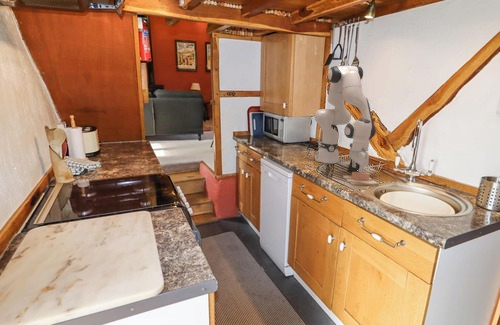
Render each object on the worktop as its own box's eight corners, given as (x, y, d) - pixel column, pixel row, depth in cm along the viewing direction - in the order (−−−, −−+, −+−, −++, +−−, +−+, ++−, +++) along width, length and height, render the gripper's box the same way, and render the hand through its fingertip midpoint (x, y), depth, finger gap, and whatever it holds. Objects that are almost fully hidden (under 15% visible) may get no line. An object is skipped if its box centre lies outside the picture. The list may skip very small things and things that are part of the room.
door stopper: (355, 173, 184) (357, 155, 181) (347, 171, 189) (349, 154, 185) (362, 171, 190) (365, 154, 186) (354, 169, 194) (357, 152, 191)
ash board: (342, 176, 176) (342, 175, 175) (367, 177, 176) (367, 175, 176) (351, 185, 161) (351, 183, 161) (378, 186, 162) (378, 184, 161)
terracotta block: (352, 171, 169) (366, 172, 169) (351, 178, 170) (365, 178, 171) (354, 173, 165) (369, 174, 166) (353, 180, 166) (368, 180, 167)
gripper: (373, 151, 153) (369, 175, 157) (358, 143, 173) (355, 165, 177) (362, 150, 153) (358, 174, 157) (348, 143, 173) (345, 164, 176)
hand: (356, 169), depth 167 cm, fingers open, 8 cm apart
